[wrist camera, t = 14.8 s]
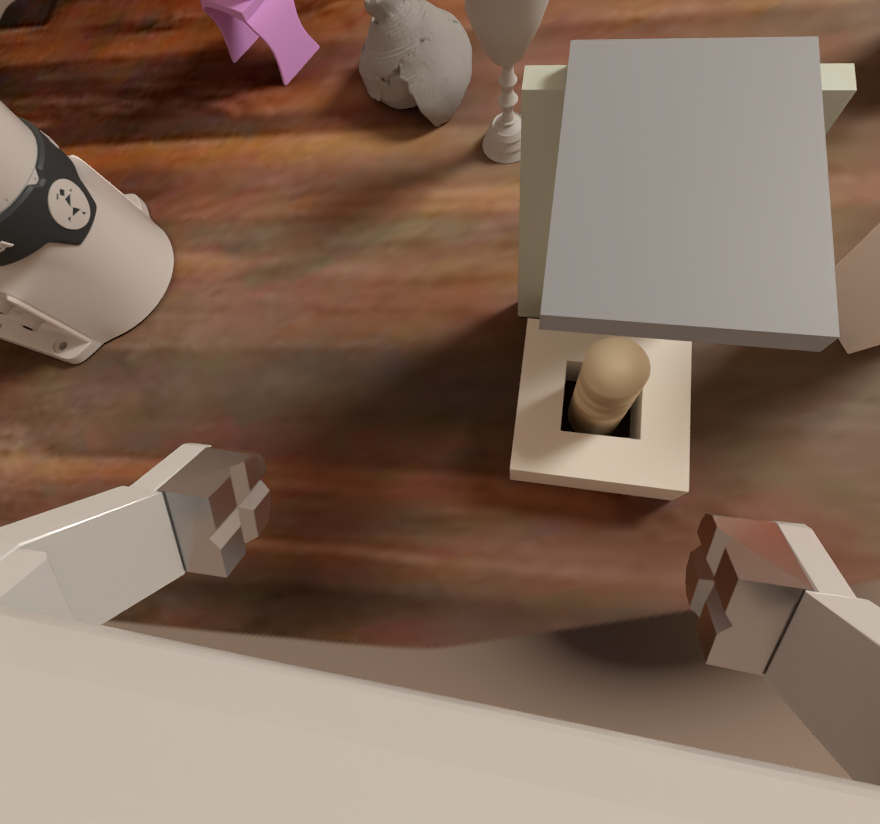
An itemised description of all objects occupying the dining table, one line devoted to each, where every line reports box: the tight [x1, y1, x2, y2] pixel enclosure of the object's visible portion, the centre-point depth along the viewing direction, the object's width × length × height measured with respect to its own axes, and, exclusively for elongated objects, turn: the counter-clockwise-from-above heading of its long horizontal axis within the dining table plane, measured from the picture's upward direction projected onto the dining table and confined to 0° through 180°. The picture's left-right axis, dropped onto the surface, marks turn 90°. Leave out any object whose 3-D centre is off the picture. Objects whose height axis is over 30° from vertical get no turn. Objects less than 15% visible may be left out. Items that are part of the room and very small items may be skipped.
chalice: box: [465, 0, 549, 164], centre depth 42 cm, size 7×7×18 cm
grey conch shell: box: [359, 0, 472, 127], centre depth 51 cm, size 12×12×11 cm
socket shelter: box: [510, 37, 857, 501], centre depth 31 cm, size 14×16×23 cm
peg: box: [567, 337, 651, 436], centre depth 37 cm, size 4×4×10 cm
